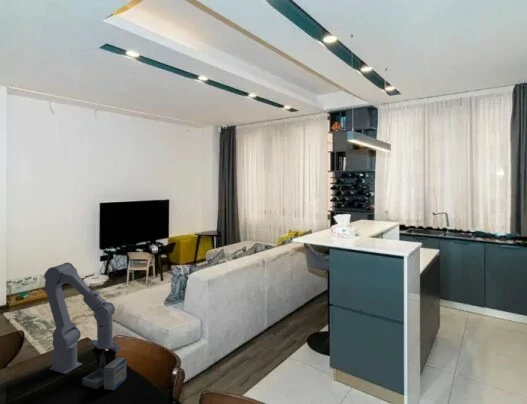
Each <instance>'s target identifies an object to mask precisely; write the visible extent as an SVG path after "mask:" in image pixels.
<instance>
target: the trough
mask: <svg viewBox="0 0 527 404" xmlns="http://www.w3.org/2000/svg"><path fill="white" fill-rule="evenodd" d="M82 386H84V387H87V388H91V389H93V390H98V389H100V388H101V387H104V370H102V369H100V368H97V369H96V370H94V371H92V372H91V373H89V374H88V375H86V376H83V378H82Z"/></svg>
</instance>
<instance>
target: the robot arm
mask: <svg viewBox="0 0 527 404" xmlns="http://www.w3.org/2000/svg"><path fill="white" fill-rule="evenodd" d="M43 277H44V280H45V282H44V289H45V290H44V291H45V293H46V296H47V297H46V298H47V301H48V305H49V307H50V311H51V315H52V317H53V321H54V324H55V329H54V331H53V333H52V346H53V349H52V351H51V367H49V370H52V371H55V372H56V373H57V372H58V373H62V374H65V375H66V374H67V373H70V372H71V371H73V370H75V369H77V368H78V367H80V366H82V365H83V363H82V362H79V361H78V342H79V340H80V338H81V336H82V335H81V334H82V333H81V331H80V329H79V327H77V323H75V322H72V321H71V318H70V314H69V310H68V307H67V304H66V300H65V297H64V293H63V290H62V286H63V285H64V284H68V285H71V286H72V287H73V288H74V289H75V290H76V291H77V292H78V293H79V294H81V296H83V298H82V299H83V302H84V304H86V306H88V308H89V309H90V310H91V311H92V312H93V318H94V319H95V321H96V329H97V330H96V331H97V332H96V333H97V335H96V336H97V337H96V339H93V340H91V341H90V342H89V343H90V347H94V348H92V349H91V352H92V354H93V355H94V356H95V359H96V362H97V365H98V366H100V353H101V352H103V351H106V352H104V355H105V357H106V364H107V365H108V364H109V363H110V362H112V361H113V360H114V359H115V356H116V354H117V352H119V351H121V346H120V345H118V344H117V343H115V340H114V339H113V315H114V314H115V311H116V307H115V305H114V304H113V303H112V302H108V301H106V300H105V299H104V298H103V297H102V296H101V295H100V293H99V292H98V291H96V290H91V289H90V288H89V286H88V285H87V284H86V283H85V281H84V280H83V279H82V277H80V275H79V274H78V270H77V268H76V267H74V265H73V263H71V262H64V263H62V264H59V265H56V266H52V267H49V268H48V269H47V270H46V271H45V273H44V274H43Z"/></svg>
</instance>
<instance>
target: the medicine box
mask: <svg viewBox="0 0 527 404" xmlns="http://www.w3.org/2000/svg"><path fill="white" fill-rule="evenodd" d="M126 379H127V358H126V357H118V356H117V357H116V358H114V360H113V361H112V362H110V363H109V364H108V365H107V366H105V367H104V385H103V389H104V390H107V391H109V390H110V391H115V390H116V389H118V387H119V386H121V384H123V382H125V381H126Z"/></svg>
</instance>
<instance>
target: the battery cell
mask: <svg viewBox="0 0 527 404" xmlns="http://www.w3.org/2000/svg"><path fill="white" fill-rule="evenodd" d="M106 351H107V350H105V351H103V352H101V353H100V365H99V369H102V370H104V367H105V366H107V364H106V357H105V355H104V352H106Z"/></svg>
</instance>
